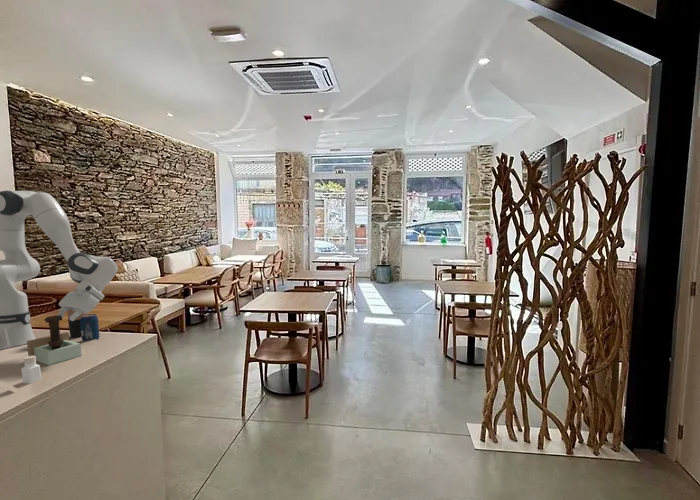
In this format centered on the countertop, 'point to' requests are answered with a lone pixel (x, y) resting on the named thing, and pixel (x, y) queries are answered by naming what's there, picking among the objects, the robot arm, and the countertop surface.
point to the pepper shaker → (30, 370)
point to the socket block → (57, 352)
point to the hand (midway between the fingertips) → (64, 318)
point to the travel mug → (75, 325)
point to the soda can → (89, 327)
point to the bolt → (54, 331)
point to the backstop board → (43, 342)
